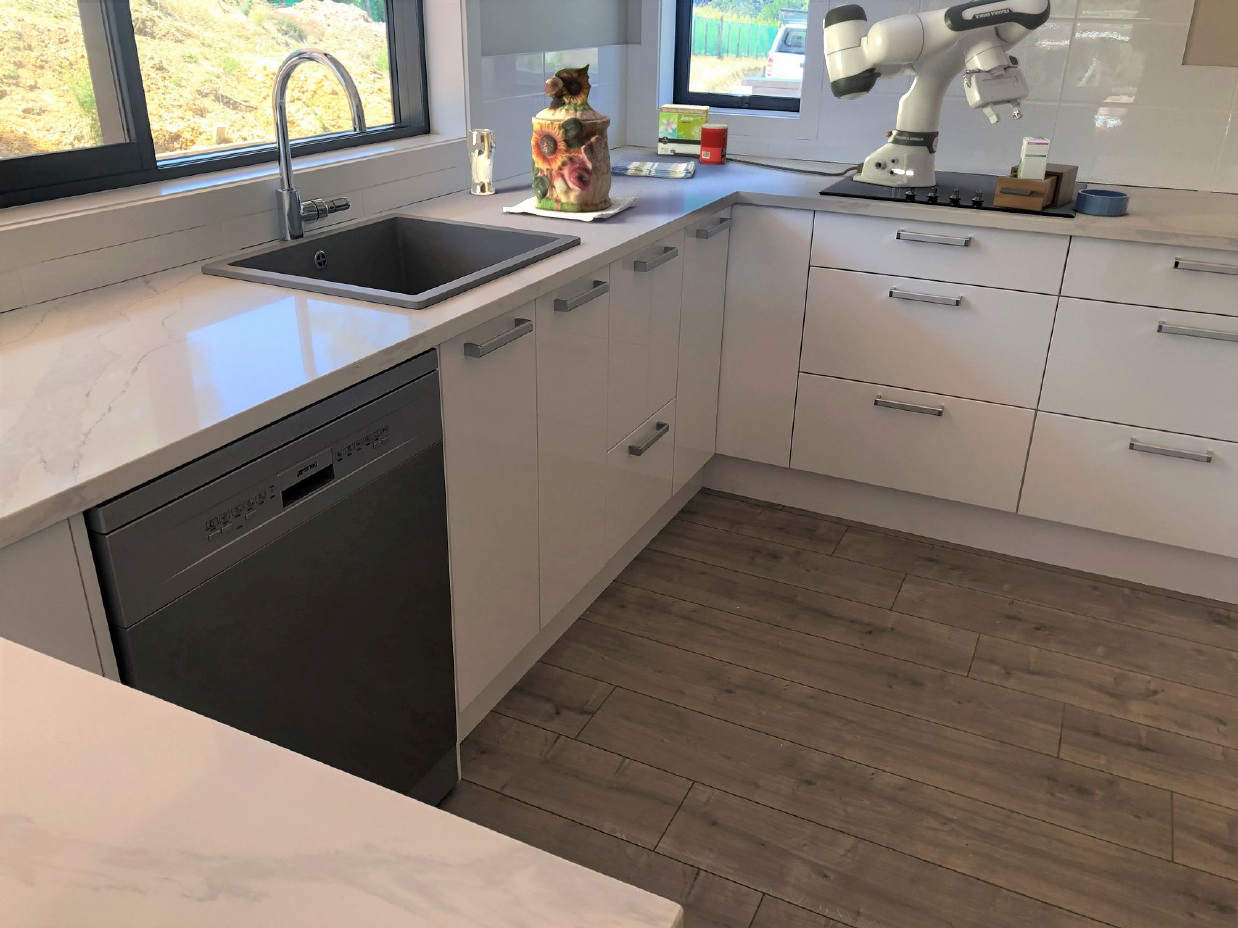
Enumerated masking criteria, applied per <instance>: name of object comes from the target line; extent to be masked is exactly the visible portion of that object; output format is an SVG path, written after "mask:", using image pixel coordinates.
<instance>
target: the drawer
mask: <svg viewBox="0 0 1238 928" xmlns="http://www.w3.org/2000/svg"><path fill="white" fill-rule="evenodd" d="M1017 173H1018V172H1015V173H1013V174H1010V173H1009V174H1008V175H1005V176H1003V175H999V176H997V181H996V187H995V192H994V200H993V203H992V205H993V206H997V207H1005V208H1014V209H1020V210H1021V209H1023V210H1029V211H1037V212H1042V211H1043V208H1044V206H1046V205H1048V204H1050V203H1052V202H1053V201H1054V196H1055V191H1056V186H1057V181H1058V176H1054V175H1045V177H1044V181H1039V180H1030V179H1021V178H1017Z"/></svg>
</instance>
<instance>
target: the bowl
mask: <svg viewBox="0 0 1238 928" xmlns="http://www.w3.org/2000/svg"><path fill="white" fill-rule="evenodd" d="M1130 198H1131V195H1130V194H1129V193H1127V192H1123V191H1119V190H1118V191H1117V190H1112V189H1111V190H1110V189H1101V188H1099V189H1098V188H1084V189H1079V190H1077V195H1076V199H1075V204H1074V210H1076V211H1077V212H1078V213H1082V214H1086V215H1091V216H1092V215H1093V216H1101V217H1119V216H1123V215H1126V214H1127V212H1128V208H1129V203H1130Z"/></svg>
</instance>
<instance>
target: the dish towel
mask: <svg viewBox="0 0 1238 928" xmlns="http://www.w3.org/2000/svg"><path fill="white" fill-rule="evenodd" d="M695 169H696V162H694V161H688V162H682V163H681V162H680V163H678V162H677V163H674V162H649V161H626V160H617V161H616V162H615V163H614V164H613V165H612V166H611V176H612V175H613V176H636V177H654V178H655V177H656V178H664V179H666V178H667V179H668V178H672V179H675V178H676V179H679V178H680V179H681V178H684V179H691V178H692V176H693V174H694V171H695Z"/></svg>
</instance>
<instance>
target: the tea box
mask: <svg viewBox="0 0 1238 928" xmlns="http://www.w3.org/2000/svg"><path fill="white" fill-rule="evenodd" d="M709 115H710V106H709V105H703V106H702V105H692V104H691V105H690V104H675V103H674V104H672V103H663V105H661V106H660V107H659V116H658V117H659V118H658V137H657V154H658V155H673V153H688V154H700V147H701V128H702V124H709ZM673 156H674V155H673Z"/></svg>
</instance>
